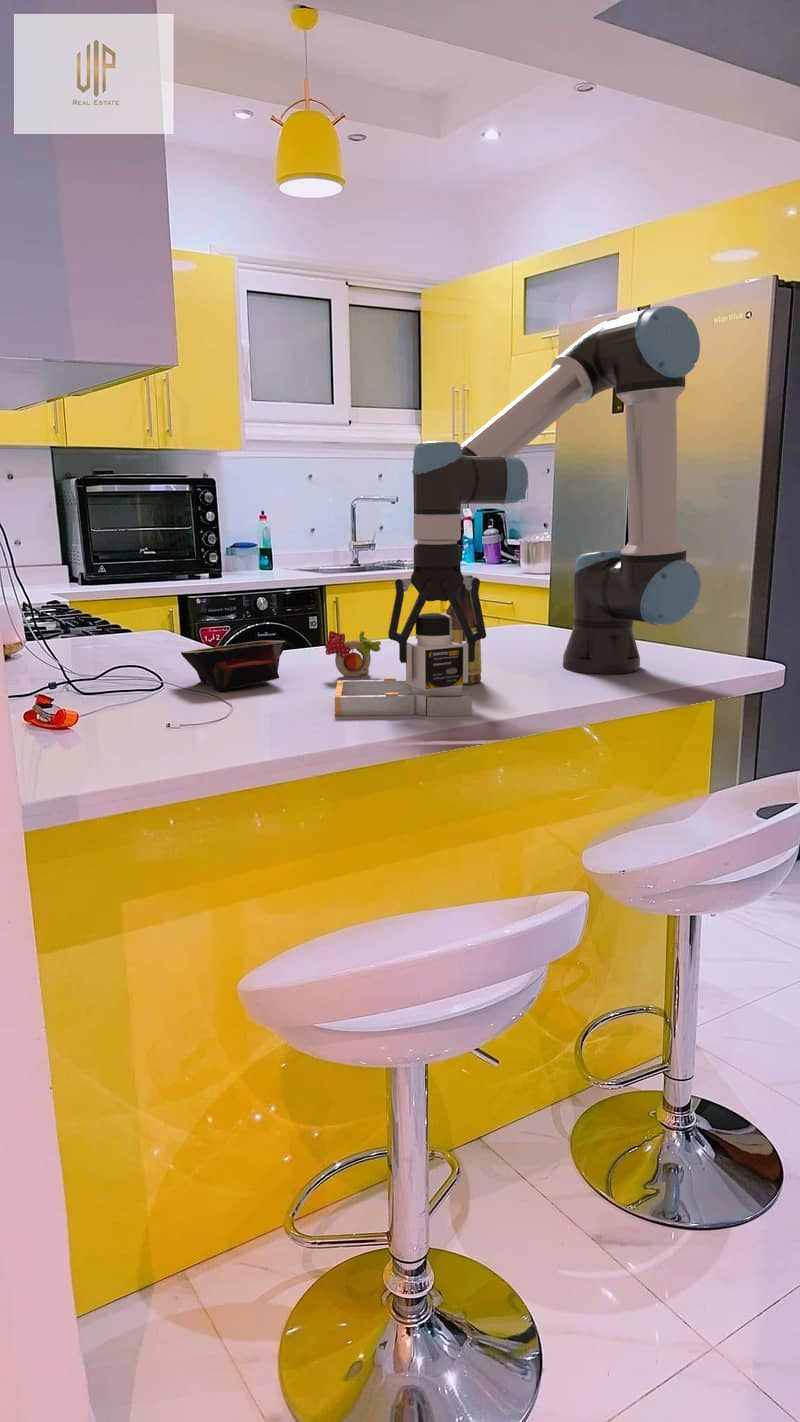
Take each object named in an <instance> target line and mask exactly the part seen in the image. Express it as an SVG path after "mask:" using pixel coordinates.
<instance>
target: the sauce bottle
mask: <svg viewBox="0 0 800 1422" xmlns="http://www.w3.org/2000/svg"><path fill="white" fill-rule="evenodd" d="M462 575H463V577H469V578H473V577H474V576H473V575H472V574H462ZM455 596H456V598H457V600H458V602H459V605H460V607H461V609H462V611H463V613H464V615H465V617H466V620H467V622H468V624H469V626H470V628H471V630H472V632H473V633H474V632H476V631H477V630H476V625H475V620H474V615H473V609H472V604H471V599H470V591H468V590H467V589H466V586H465V584H464V583H462V584H461V586H460V587H459V589H458V590H457V591H456V593H455ZM445 614H447V615H449V616H451V617H452V639H450V642H454V643H458V644H462V641H467V639H466V636H465V634H464V632H463V630H462V628H461V626H460V624H459V621H458V619H457V617H456V615H455V613H454V611H453V609H452V606H451V604H450V603H449V606H447V609H446V612H445ZM481 648H482V647H481V639H480V640H477V641H476V642H475V659H474V662H468V683H463V686H466V685H469V686H470V685H477V684H479V683H480V682H481V680H482V676H481V675H482V649H481Z"/></svg>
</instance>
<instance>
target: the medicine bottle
mask: <svg viewBox="0 0 800 1422" xmlns="http://www.w3.org/2000/svg"><path fill="white" fill-rule="evenodd" d="M450 639H452V617H451V616H449V615H447V614H446V613H442V612H427V613H420V614H419V617H418V619H417V621H416V623H415V641H410V642H411V647H412V684H408V685H411V686H414V687H416V688H419V689H422V690H425V691H431V690H439V689H448V688H456V687H462V688H463V686H464V685H463V645H462V644H458V643H454V642H450ZM416 640H417V641H416ZM406 683H407V681H406Z"/></svg>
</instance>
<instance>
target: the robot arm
mask: <svg viewBox="0 0 800 1422" xmlns="http://www.w3.org/2000/svg"><path fill="white" fill-rule="evenodd" d="M700 340H701V339H700V334H699V331H698V328H697V325H696V324H695V322H694V320H693V319H692V318H690V317H689V316H688V314H687V312H685V310H682V309H681V308H679V307H677V306H674V305H660V306H653V307H647V308H645V309H641V310H639V311H635V312H631V313H628V314H625V315H622V316H618V317H612V318H610V319H606V320H604V321H602V322H601V323H598V324H597V325H596V326H594V327H593V328H591V329H590V330H588V331H587V332H585V334H583V335H582V336H581V337H579V338H578V339H577V340H576V341H575V342H574V343H572V344H571V345H570V346H569V347H567V348H566V349H565V350H564V351H562V353H561V354H559V355H558V356H557V357H556V358H555V359H554V360H553V361H552V363H551V369H550V370H549V371H548V372H547V373H545V374H544V375H542V376H541V378H539V379H538V380H537V381H536V382H535V383H533V384H532V385H531V386H530V387H529V388H528V389H526V390H525V391H524V392H523V393H522V394H520V395H519V396H518V397H517V398H516V399H514V400H513V401H512V402H511V403H510V404H508V405H507V406H506V407H504V409H503V410H501V411H500V412H499V413H497V415H495V416H494V417H492V419H491V420H489V421H488V422H487V423H486V424H484V425H483V426H482V427H480V429H478V430H477V431H476V432H474V433H473V435H471V436H470V437H469V438H468V439H466V440H465V441H464V442H462V444H460V443H459V442H458V441H450V440H448V441H447V440H444V441H443V440H442V441H441V440H440V441H438V440H437V441H434V440H433V441H421V442H419V443H417V444H416V446H415V447H414V450H413V452H414V453H413V462H412V463H413V464H412V472H411V474H412V478H413V479H412V483H413V484H412V485H413V486H412V487H413V491H412V492H413V540H415V541H416V542H417V543H415V544H414V546H413V571H412V573H411V576H410V577H404V578H401V577H396V578H395V579H394V586H395V587H394V588H395V599H394V602H393V607H392V612H391V617H390V622H389V623H390V624H389V627H388V628H389V629H388V635H387V636H388V639H389V640H390V641H394V642H397V643H398V644H399V645H398V646H399V647H398V648H399V650H398V651H399V654H398V656H399V661H400V663H401V664H405V680H406V681H407V684H412V647H411V642H412V641H408V640H409V638H410V635H411V633H412V631H413V630H414V628H415V626H416V621H417V619H418V617H419V615H421V612H422V610H423V608H424V606H425V605H426V603H427V602H435V601H440V602H449V605H450V604H451V606H452V609H453V611H454V613H455V615H456V617H457V619H458V621H459V624H460V626H461V628H462V630H463V632H464V634H465V636H466V639H467V641H462V645H463V683H468V662H474V659H475V642H476V641H477V640H480V641H481V640H484V639H486V638H487V633H486V627H485V620H484V616H483V611H482V606H481V601H480V595H479V590H480V584H481V580H480V579H479V578H478V577H477V576H473V578H469V577H463V575H464V574H462V573H463V572H462V570H461V563H462V562H461V557H462V555H461V549H462V548H461V545H460V544H459V543H458V541H460V540H461V537H462V534H461V531H462V530H461V529H462V524H461V523H462V518H461V517H462V516H461V515H462V511H461V510H462V505H505V504H515V503H518V502H520V501H521V500H522V499H523V497H524V496H525V494H526V493H527V490H528V485H529V481H528V480H529V479H528V478H529V472H528V468H527V466H526V465H525V463H524V461H523V460H521V458H519V457H516V455H517V454H518V453H519V452H520V451H522V450H523V449H524V448H525V447H527V446H528V445H529V444H530V443H531V442H533V441H534V440H535V439H536V438H537V437H538V436H540V435H541V434H543V432H544V431H545V430H547V429H548V428H549V427H550V426H551V425H553V424H554V423H555V422H556V421H558V420H559V419H560V418H561V417H562V416H563V415H565V413H568V411H569V410H571V409H572V408H573V407H574V406H575V405H576V404H578V405H582V404H585V403H587V402H589V400H591V399H592V398H593V397H594V396H596V395H598V394H599V393H600V394H601V393H602V392H604V391H607V390H610V389H613V388H616V390H615V391H616V397H617V398H618V399H619V400H620V401H621V402H622V403H624V406H625V433H626V435H625V442H626V481H627V486H626V487H627V522H628V523H627V529H628V530H627V531H628V533H627V534H628V535H627V536H628V542H627V544H626V545H625V546H624V547H623V548H622V549H618V550H617V549H616V550H606V551H604V550H603V551H596V552H595V551H594V552H588V553H587V552H586V553H582V554H580V555H578V557H577V558H576V561H575V565H574V571H573V572H574V573H573V608H572V609H573V616H572V617H573V619H572V631H571V633H570V636H569V640H568V642H567V645H566V648H565V650H564V653H563V657H562V668H563V669H565V670H569V671H572V672H577V673H584V674H585V673H586V674H598V675H599V674H601V675H602V674H603V675H605V674H606V675H613V674H614V675H615V674H616V675H617V674H618V675H619V674H628V673H634V672H637V671H639V670H641V669H640V668H641V656H640V653H639V649H638V645H637V642H636V638H635V635H634V631H633V629H634V627H633V625H634V621H635V622H640V623H646V624H649V625H655V626H657V625H665V626H666V625H667V626H668V625H674V624H677V623H679V622H681V621H683V620H684V619H685V618H686V617H688V615H689V614H690V613H691V611H692V610H693V609H694V607H695V606H696V604H697V602H698V600H699V596H700V592H701V586H702V585H701V578H700V577H701V576H700V573H699V571H698V570H696V566H695V565H694V564H692V563H690V561H687V547H686V546H685V545H684V544H683V543H682V542H681V541H680V540H679V537H678V454H677V453H678V451H677V449H678V445H677V443H678V442H677V441H678V439H677V436H678V434H677V433H678V432H677V400H678V398H679V397H680V396H681V395H682V394H683V392H684V391H685V390H686V376H687V375H688V374H689V373H690V372H691V371H692V370H693V369H694V368H695V366H696V365H695V364H696V363H697V362H698V361H699V358H700V352H701V341H700ZM462 583H464V584H465V586H466V589H467V590H468V591H470V599H471V604H472V609H473V615H474V620H475V625H476V630H477V631H476V632H474V633H473V632H472V630H471V628H470V626H469V624H468V622H467V620H466V617H465V615H464V613H463V611H462V609H461V607H460V605H459V602H458V600H457V598H456V596H455V593H456V591H457V590H458V589H459V587H460V586H461V584H462ZM410 585H413V587H414V588H415V590H416V591H417V592H418V595H417V597H416V599H415V602H414V605H413V607H412V609H411V611H410V613H409V615H408V617H407V620H406V622H405V623H404V626H403V628H402V631H401V633H399V632H398V629H399V624H400V623H399V622H400V618H401V613H402V608H403V607H402V606H403V602H404V597H405V592H407V591H408V590H409V586H410Z"/></svg>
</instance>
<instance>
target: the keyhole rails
mask: <svg viewBox="0 0 800 1422" xmlns="http://www.w3.org/2000/svg"><path fill="white" fill-rule="evenodd" d="M472 699H473V696H472V695H463V686H462V687H456V688H448V689H439V690H431V691H425V690H422V689H419V688H416V687H414V686H411V685H408V684H407V683H406V679H397V678H396V677H395V676H394V677H383V679H369V680H368V679H356V680H355V679H353V680H352V679H349V680H348V679H347V680H344V679H343V680H337V682H336V688H335V693H334V716H335V717H337V716H338V717H342V716H343V717H345V716H347V717H348V716H349V717H352V716H353V717H354V716H406V715H407V716H413V715H419V716H420V715H421V716H427V717H464V716H465V717H466V716H468V717H469V716H473V712H472V711H473V700H472Z"/></svg>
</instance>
